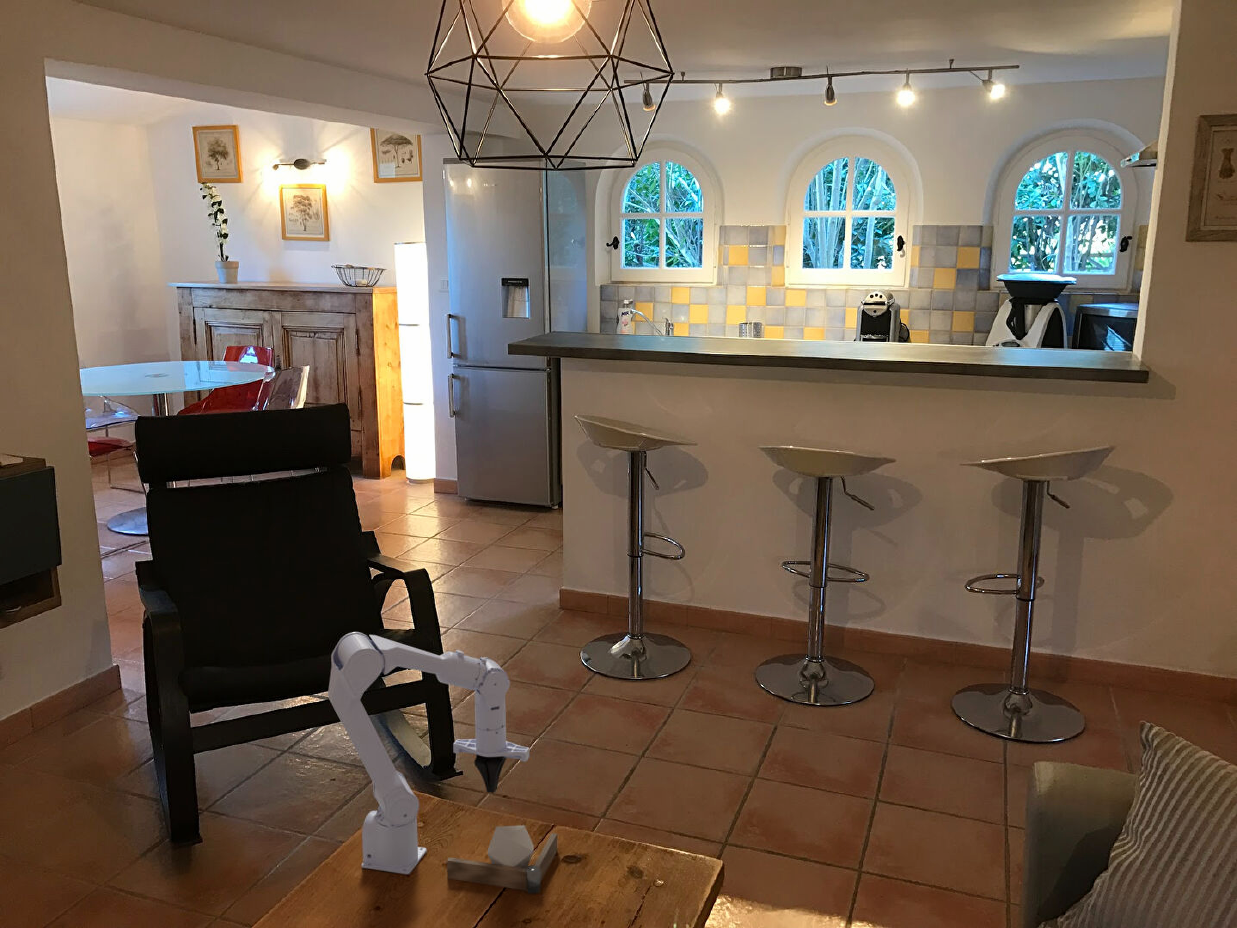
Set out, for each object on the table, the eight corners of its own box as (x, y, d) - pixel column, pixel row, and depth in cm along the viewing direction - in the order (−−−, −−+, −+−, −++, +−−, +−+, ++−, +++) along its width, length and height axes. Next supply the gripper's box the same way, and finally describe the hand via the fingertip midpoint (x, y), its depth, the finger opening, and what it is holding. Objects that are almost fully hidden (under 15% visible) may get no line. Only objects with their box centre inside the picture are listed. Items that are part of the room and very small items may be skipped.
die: (517, 891, 176) (545, 841, 178) (475, 866, 177) (503, 817, 178) (517, 880, 184) (544, 832, 186) (477, 857, 185) (504, 809, 186)
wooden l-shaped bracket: (445, 880, 179) (445, 860, 178) (474, 838, 192) (474, 819, 191) (537, 894, 175) (537, 873, 174) (560, 850, 188) (560, 831, 187)
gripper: (534, 718, 191) (535, 784, 193) (462, 710, 194) (464, 775, 197) (521, 735, 184) (523, 803, 186) (448, 726, 187) (450, 793, 190)
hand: (492, 790), depth 191 cm, fingers closed
